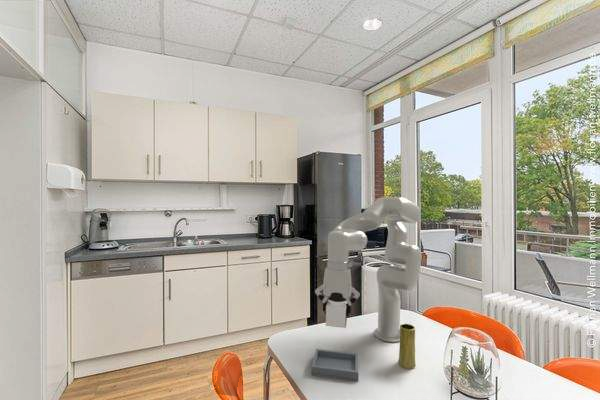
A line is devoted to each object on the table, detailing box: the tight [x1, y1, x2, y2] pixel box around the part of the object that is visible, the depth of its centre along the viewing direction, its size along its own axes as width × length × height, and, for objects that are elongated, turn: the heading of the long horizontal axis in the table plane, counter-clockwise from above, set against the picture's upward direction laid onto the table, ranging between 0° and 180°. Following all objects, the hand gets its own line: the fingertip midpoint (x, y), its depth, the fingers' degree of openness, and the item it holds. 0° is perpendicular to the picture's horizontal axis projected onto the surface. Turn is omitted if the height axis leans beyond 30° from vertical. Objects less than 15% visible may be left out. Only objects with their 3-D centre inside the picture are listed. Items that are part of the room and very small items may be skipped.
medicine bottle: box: [325, 293, 348, 329], centre depth 105 cm, size 7×7×12 cm
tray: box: [311, 348, 360, 382], centre depth 105 cm, size 16×12×3 cm
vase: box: [397, 323, 416, 370], centre depth 108 cm, size 6×6×14 cm
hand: (336, 313), depth 105 cm, fingers closed on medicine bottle, 7 cm apart
